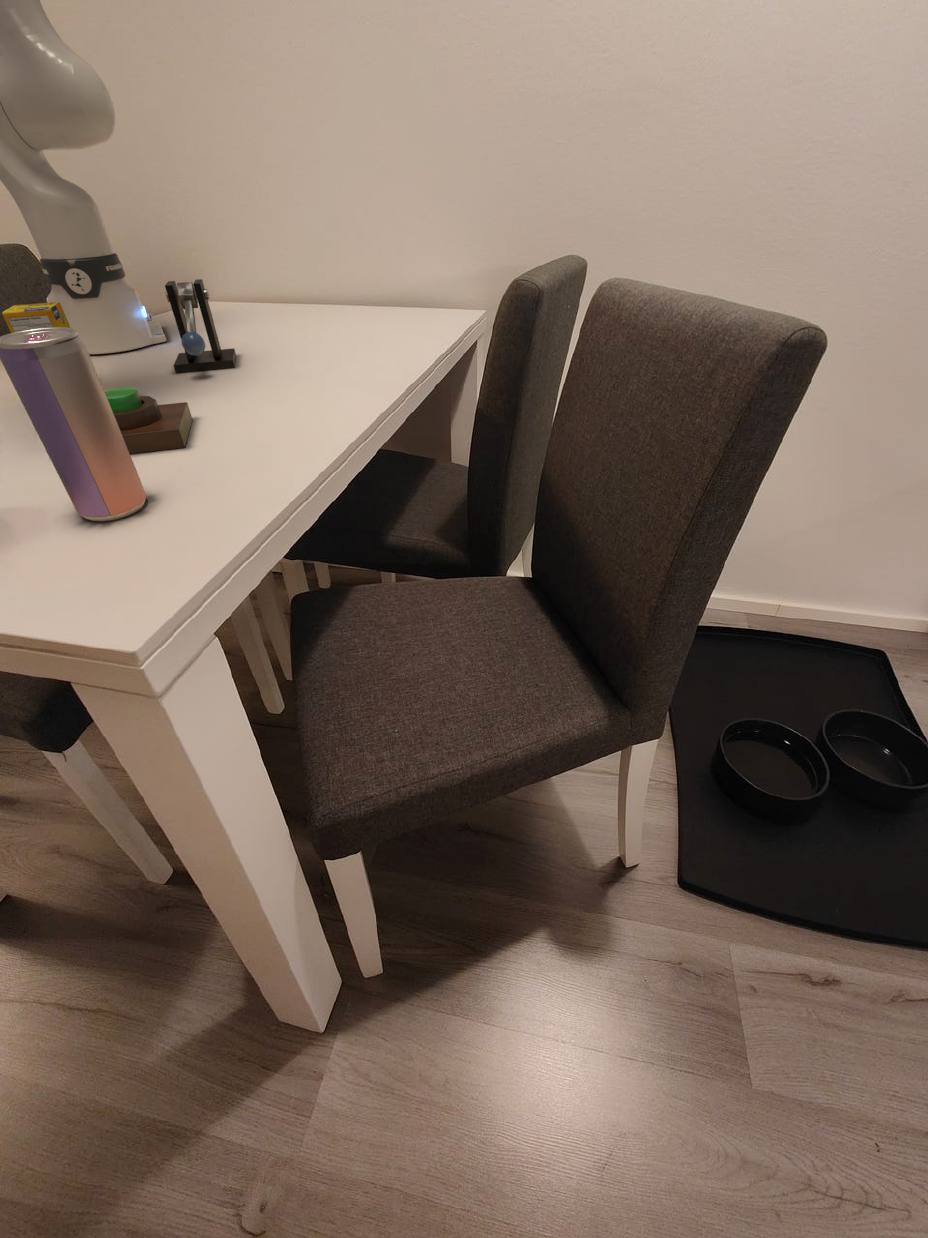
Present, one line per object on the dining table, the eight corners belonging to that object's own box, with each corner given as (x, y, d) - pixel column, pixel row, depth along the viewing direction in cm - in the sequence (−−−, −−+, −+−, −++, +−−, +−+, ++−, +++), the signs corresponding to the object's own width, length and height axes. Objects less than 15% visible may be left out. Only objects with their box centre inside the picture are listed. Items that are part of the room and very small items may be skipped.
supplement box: (93, 380, 87) (60, 300, 81) (86, 391, 83) (50, 308, 76) (50, 385, 86) (13, 304, 79) (40, 396, 82) (0, 311, 75)
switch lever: (208, 359, 85) (202, 341, 83) (186, 361, 85) (179, 343, 82) (200, 297, 90) (194, 278, 87) (179, 298, 89) (172, 280, 86)
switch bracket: (234, 367, 92) (213, 283, 84) (175, 373, 90) (148, 288, 82) (236, 355, 98) (216, 276, 90) (181, 360, 96) (155, 280, 88)
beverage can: (76, 529, 50) (-17, 347, 41) (82, 501, 55) (-1, 331, 45) (148, 515, 52) (75, 338, 43) (149, 489, 57) (82, 323, 47)
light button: (108, 404, 66) (102, 389, 65) (145, 401, 67) (139, 385, 66) (101, 415, 63) (95, 399, 62) (140, 411, 64) (134, 395, 63)
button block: (90, 430, 70) (76, 397, 68) (192, 419, 73) (182, 386, 70) (70, 461, 63) (53, 425, 60) (185, 447, 65) (173, 412, 63)
